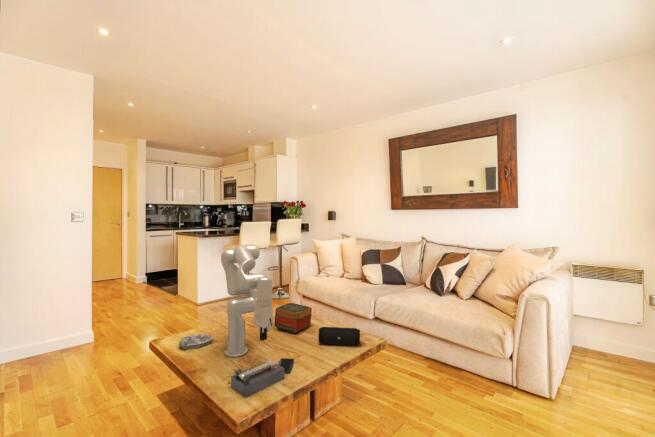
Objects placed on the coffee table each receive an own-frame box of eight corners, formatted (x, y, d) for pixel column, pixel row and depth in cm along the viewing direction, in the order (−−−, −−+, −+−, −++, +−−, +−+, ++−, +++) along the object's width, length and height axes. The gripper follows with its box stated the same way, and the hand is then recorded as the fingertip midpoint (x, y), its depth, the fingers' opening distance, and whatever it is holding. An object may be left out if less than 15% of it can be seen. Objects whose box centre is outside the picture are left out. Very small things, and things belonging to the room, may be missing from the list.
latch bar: (243, 381, 137) (243, 376, 137) (237, 377, 140) (237, 372, 140) (276, 366, 151) (276, 362, 151) (269, 363, 154) (270, 359, 154)
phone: (274, 371, 155) (280, 358, 170) (274, 374, 155) (280, 360, 170) (290, 372, 154) (294, 358, 169) (290, 374, 154) (294, 360, 169)
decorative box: (271, 330, 214) (271, 308, 212) (292, 319, 232) (292, 298, 230) (294, 339, 203) (293, 315, 201) (314, 326, 221) (314, 304, 219)
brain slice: (205, 336, 202) (205, 331, 202) (216, 343, 190) (216, 339, 190) (173, 344, 188) (173, 339, 188) (183, 353, 176) (183, 348, 176)
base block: (245, 397, 134) (245, 379, 134) (231, 387, 142) (231, 369, 142) (284, 378, 150) (284, 362, 150) (269, 369, 158) (269, 354, 158)
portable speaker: (318, 346, 188) (318, 330, 188) (319, 339, 198) (320, 324, 198) (359, 348, 186) (360, 331, 186) (359, 341, 196) (359, 326, 196)
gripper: (248, 300, 151) (247, 337, 151) (267, 307, 141) (266, 346, 141) (261, 297, 156) (260, 333, 157) (279, 304, 146) (279, 342, 147)
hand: (263, 339), depth 149 cm, fingers closed
